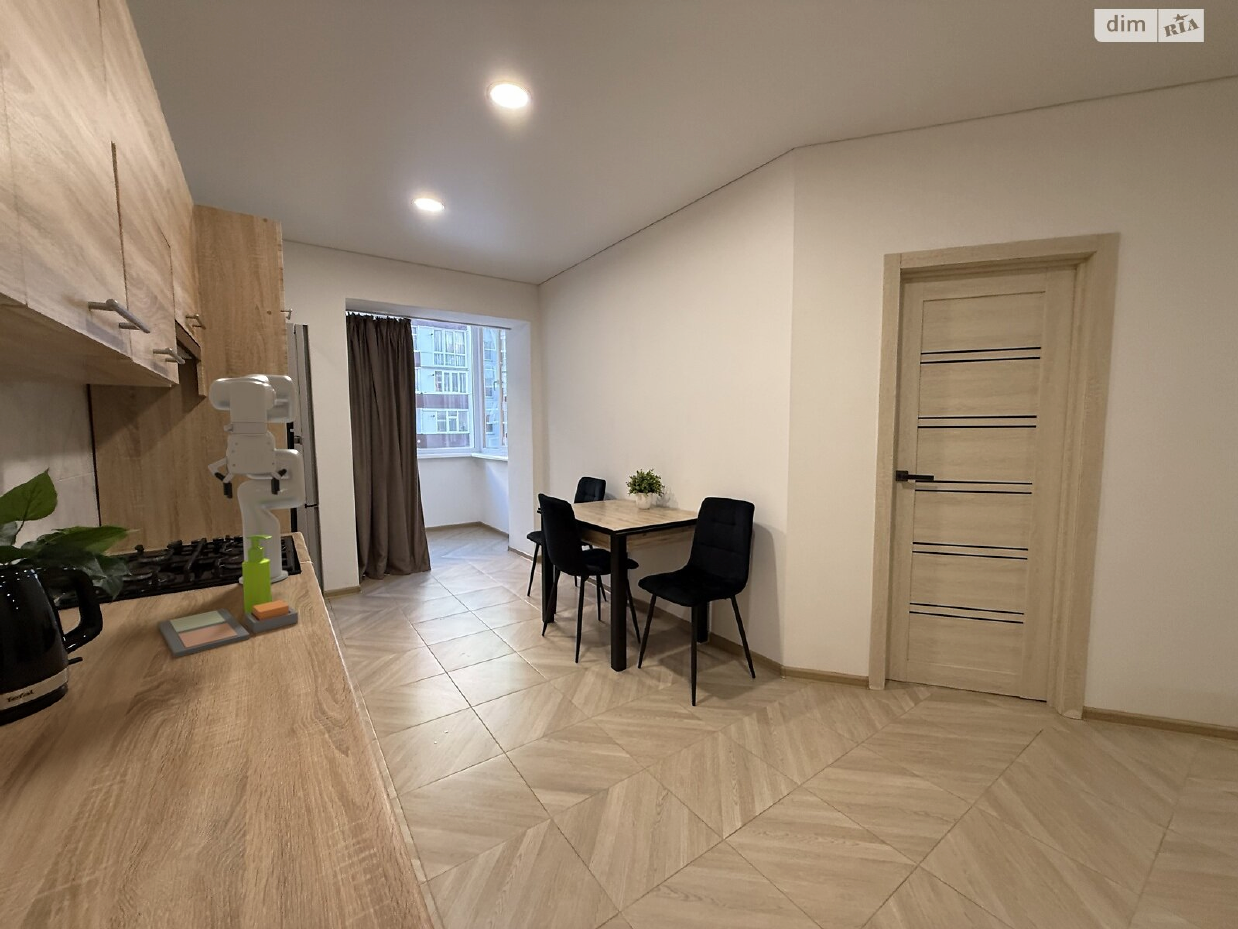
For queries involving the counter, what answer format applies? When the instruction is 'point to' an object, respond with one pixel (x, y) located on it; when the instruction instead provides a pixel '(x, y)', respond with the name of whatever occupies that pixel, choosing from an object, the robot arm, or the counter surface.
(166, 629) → the gray board
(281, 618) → the button housing
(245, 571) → the soap dispenser
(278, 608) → the button
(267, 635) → the counter surface
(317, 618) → the counter surface
